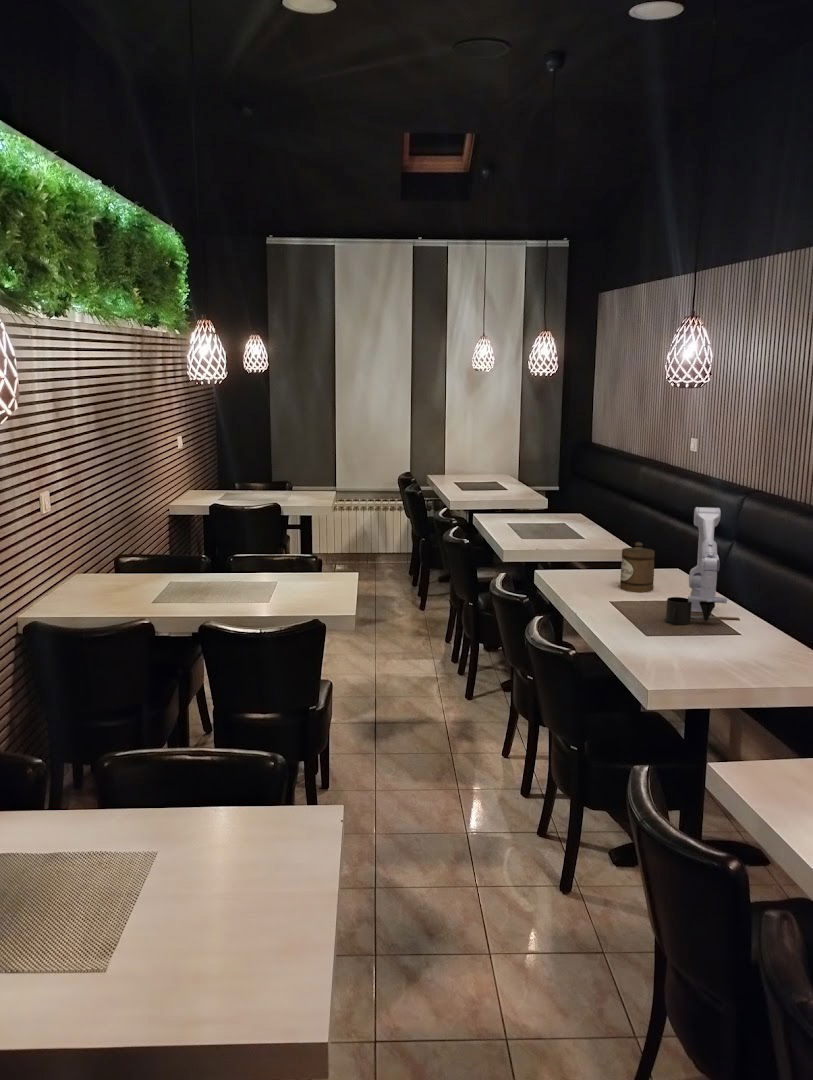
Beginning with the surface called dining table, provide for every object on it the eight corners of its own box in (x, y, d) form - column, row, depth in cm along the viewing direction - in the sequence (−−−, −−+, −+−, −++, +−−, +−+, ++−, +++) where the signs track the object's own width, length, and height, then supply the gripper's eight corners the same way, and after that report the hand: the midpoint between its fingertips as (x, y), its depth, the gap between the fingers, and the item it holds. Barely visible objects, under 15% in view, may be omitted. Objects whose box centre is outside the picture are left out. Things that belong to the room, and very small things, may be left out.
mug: (661, 624, 342) (662, 602, 340) (669, 617, 352) (670, 595, 350) (685, 627, 337) (686, 605, 335) (692, 620, 347) (694, 599, 345)
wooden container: (617, 584, 408) (619, 539, 404) (648, 585, 407) (651, 539, 403) (623, 592, 393) (626, 545, 389) (656, 593, 393) (659, 545, 389)
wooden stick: (666, 616, 354) (666, 614, 353) (738, 618, 350) (738, 617, 350) (667, 617, 351) (667, 616, 351) (739, 620, 348) (739, 618, 348)
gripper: (691, 588, 337) (689, 622, 340) (729, 589, 336) (727, 623, 338) (687, 584, 344) (685, 617, 347) (725, 585, 343) (722, 618, 345)
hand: (705, 620), depth 343 cm, fingers closed
